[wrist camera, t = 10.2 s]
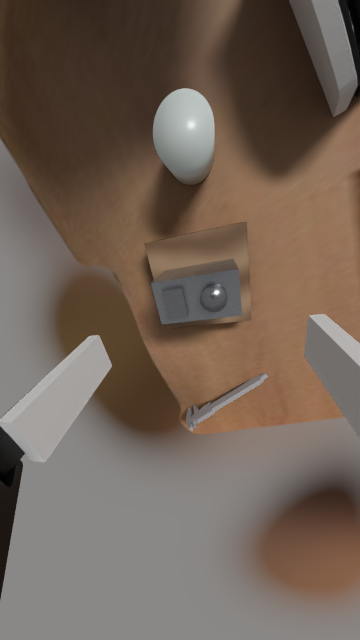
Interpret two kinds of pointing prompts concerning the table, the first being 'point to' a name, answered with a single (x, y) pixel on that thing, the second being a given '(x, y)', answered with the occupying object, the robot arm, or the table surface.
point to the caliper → (220, 402)
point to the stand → (205, 260)
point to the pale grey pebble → (185, 135)
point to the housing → (198, 292)
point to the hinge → (332, 46)
